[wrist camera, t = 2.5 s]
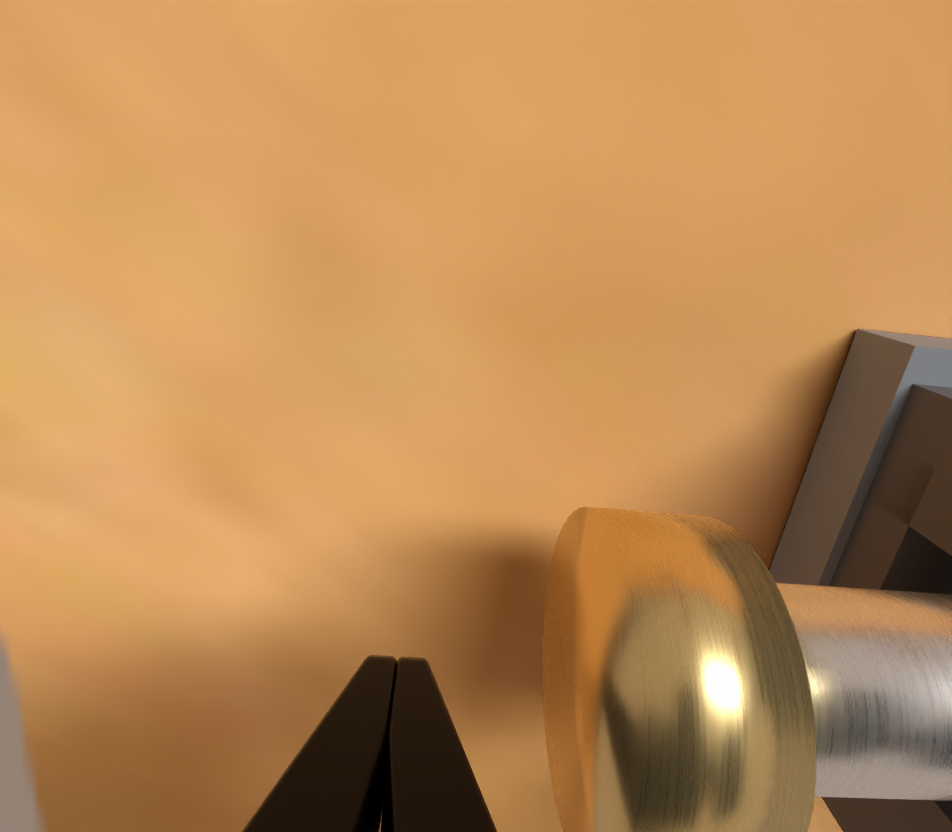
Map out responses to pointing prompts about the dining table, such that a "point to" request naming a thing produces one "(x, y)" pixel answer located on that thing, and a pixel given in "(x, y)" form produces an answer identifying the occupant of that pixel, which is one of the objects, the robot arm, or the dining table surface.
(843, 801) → the bearing bracket
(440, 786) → the robot arm
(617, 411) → the dining table surface
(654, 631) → the shaft
